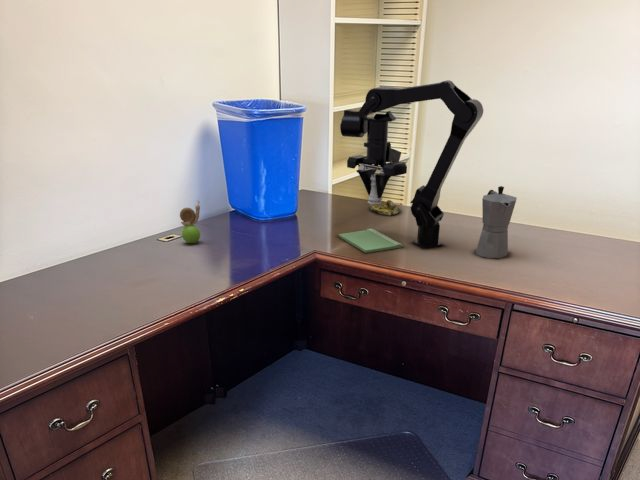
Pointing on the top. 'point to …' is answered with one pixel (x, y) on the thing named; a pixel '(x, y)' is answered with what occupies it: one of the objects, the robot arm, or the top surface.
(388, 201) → the olive lumpy piece
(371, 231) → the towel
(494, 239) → the coffeepot
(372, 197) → the rook chess piece
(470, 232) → the top surface
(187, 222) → the snail figurine
